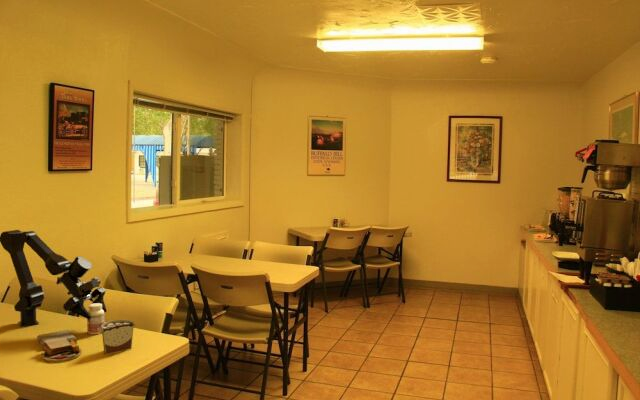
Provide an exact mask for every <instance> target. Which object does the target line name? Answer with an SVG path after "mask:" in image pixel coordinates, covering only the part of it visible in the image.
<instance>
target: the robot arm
mask: <svg viewBox="0 0 640 400" xmlns="http://www.w3.org/2000/svg"><path fill="white" fill-rule="evenodd" d="M0 244H1V246H2V248H3V249H4V250H5V251H6V252H7V253H8V254H9V256H10V258H11V262H12V264H13V267H14V271H15V274H16V276H17V279H18V284H19V286H20V289H19V293H18V297H19V300H18V301H17V302H16V303H15V305H14V306H13V307H14V308H13V309H14V311H15V312H20V313H19V314H20V315H19V317H20V318H19V321H18V325H19V326H20V327H27V326H34V325H39V324H40V322H39V321H38V320H37V308H40V307H42V304H43V301H44V299H45V292H44V291H43V286H42V285H41V284H39V285H37V284H36V282H34V278H33V275H32V273H31V269H30V266H29V264H28V260H27V257H26V255H25V252H24V247H25V244H26V245H27V246H28V247H29V248H30V249H31V250H32V251H33V252H35V253H36V254H37V255H38V257H39V258H40V259H42V261H43V262H44V267H45V268H46V270H47V271H48V273H49V274H50V275H52V276H57V279H56V285H60V284H62V285H63V286H64V287H65V288H66V290H67V291H68V292H67V295H68V296H71V297H69V298H68V299H67V300H66V301H65V302H64V303H63V305H62V308H63V310H64V312H66V313H67V312H69V313H72V314H76V315H78V316H81V317H83V318H85V319H86V320H87V319H91V316H90V314H89V313H88V311H89V310H87V309H86V307H85V306H84V302H86V301H90V302H91V304H94V303H101V304H102V310H104V314H106V312H107V311H108V310H107V308H106V307H107V306H106V303H105V300H104V296H105V295H106V292H107V290H106V289H105V288H104V287H103V286H101V287H100V285H101V280H100V278H98V276H95V277H93V278H91V280H89V281H87V282H86V281H85V280H83V281H82V280H81V279H80V278H83V277H84V276H85V275H86V274H87V272H89V270H90V269H91V268H92V263H91V261H90V260H88V259H87V258H84V257H82V256H81V255H79V256H76V257H75V258H74V260H73V261H69V260H68V259H67V258H66V257H64V256H63V255H61V254H59V253H56V252H55V251H54V250H52V248H51V247H49V246H48V245H47V244H46V242H45V241H43V240H42V239H41V238H40V237H39V236H38V235H37V232H35V231H33V230H29V231H21V230H19V229H13V230H8V231H7V230H6V231H3V232H1V233H0ZM61 274H62V275H61ZM58 275H61V276H58Z"/></svg>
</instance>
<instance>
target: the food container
mask: <svg viewBox="0 0 640 400" xmlns="http://www.w3.org/2000/svg"><path fill="white" fill-rule="evenodd" d="M134 327H135V328H136V324H135V321H134V320H132V319H131V320H130V319H116V320H115V319H114V320H109V321H105V322H104V324H102V326H101V329H100V334H101V336H102V344H103V345H102V346H103V353H104V355H105V356H107V355H112V354H115V353H120V351H121V352H123V351H124V350H125V351H129V350H131V349H132V348H133V347H132V346H133V339H134V338H133V337H134ZM125 351H124V352H125ZM111 353H112V354H111Z"/></svg>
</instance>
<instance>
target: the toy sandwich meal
mask: <svg viewBox="0 0 640 400" xmlns="http://www.w3.org/2000/svg"><path fill="white" fill-rule="evenodd" d="M44 345H45V346H44V347H43V348H42V347H41V351H42V352H43V353H42V354H41V358H42V359H43V360H44V361H46V362H49V363H51V362H52V363H62V362H68V361H70V360H73V359H77V358H78V357H79V356H80V355H81V354H82V353H83V351H82V349H81V348H80V345H78V343H77V344H76V343H75V342H74V341H73V340H72V341H71V344H70V343H69V342H68V341H67V338H56V339H51V340H47V341H45V342H44Z"/></svg>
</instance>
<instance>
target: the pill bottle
mask: <svg viewBox="0 0 640 400" xmlns="http://www.w3.org/2000/svg"><path fill="white" fill-rule="evenodd" d="M88 307H89V308H88V309H89V310H87V311H88V313H89V314H90V316H91V319H87V318H86V323H87V329H86V331H87V333H88V334H89V335H100V334H101V333H100V329H101V326H102V324H104V323H105V313H104V310H102V304H101V303H94V304H92V303H91V304H89V306H88Z"/></svg>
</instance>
